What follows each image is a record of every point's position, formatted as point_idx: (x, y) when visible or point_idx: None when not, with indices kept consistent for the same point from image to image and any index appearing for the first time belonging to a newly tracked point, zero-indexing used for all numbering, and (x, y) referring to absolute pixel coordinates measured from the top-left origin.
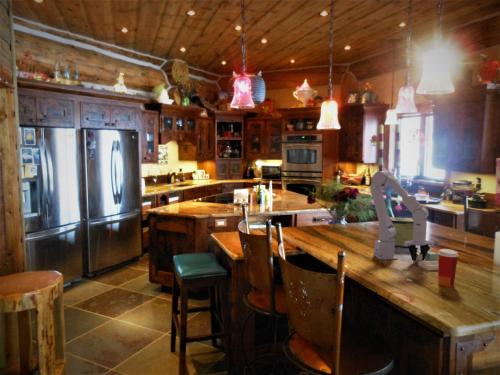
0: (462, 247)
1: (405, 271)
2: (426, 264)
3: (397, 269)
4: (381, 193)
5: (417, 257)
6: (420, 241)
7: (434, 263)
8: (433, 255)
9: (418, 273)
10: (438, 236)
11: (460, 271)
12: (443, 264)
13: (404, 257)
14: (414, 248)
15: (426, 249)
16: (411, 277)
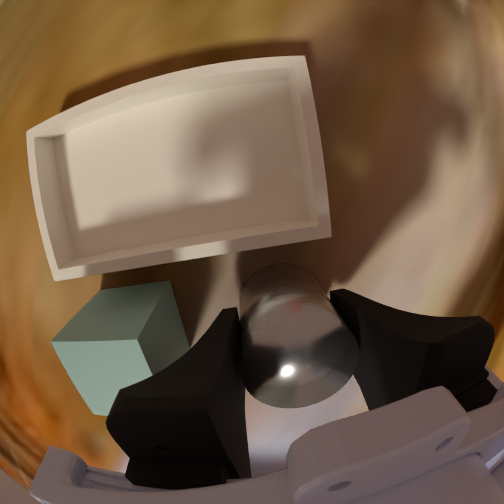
0: (15, 452)
1: (461, 96)
2: (226, 230)
3: (488, 148)
4: None
5: (327, 301)
6: (467, 500)
7: (131, 248)
8: (102, 330)
9: (394, 33)
10: None
11: (21, 101)
12: None
13: (306, 423)
14: (482, 322)
15: (198, 382)
16: (444, 3)
